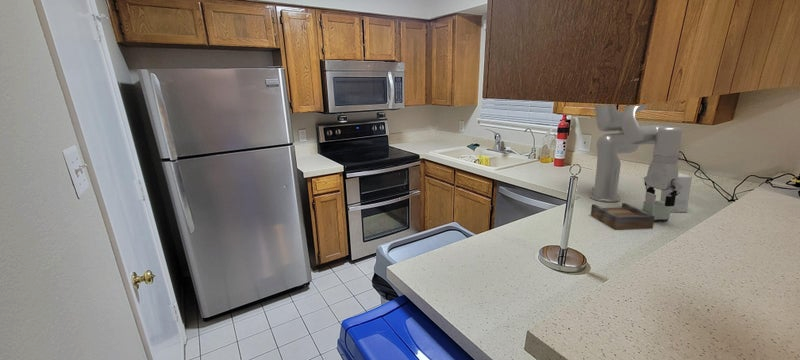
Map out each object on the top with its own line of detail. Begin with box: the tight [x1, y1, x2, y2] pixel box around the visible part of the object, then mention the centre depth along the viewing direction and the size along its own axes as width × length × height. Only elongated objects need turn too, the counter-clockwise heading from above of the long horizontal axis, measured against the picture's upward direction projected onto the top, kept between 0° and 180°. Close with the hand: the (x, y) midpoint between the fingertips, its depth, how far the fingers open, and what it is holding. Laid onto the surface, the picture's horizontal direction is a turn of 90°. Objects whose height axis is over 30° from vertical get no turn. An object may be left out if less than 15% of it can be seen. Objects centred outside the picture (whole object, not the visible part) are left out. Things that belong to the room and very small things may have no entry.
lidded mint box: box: [642, 191, 671, 223], centre depth 127 cm, size 5×7×11 cm
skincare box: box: [659, 172, 693, 213], centre depth 137 cm, size 8×7×16 cm
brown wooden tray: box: [590, 202, 655, 231], centre depth 128 cm, size 16×14×5 cm
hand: (659, 202), depth 126 cm, fingers open, 9 cm apart
